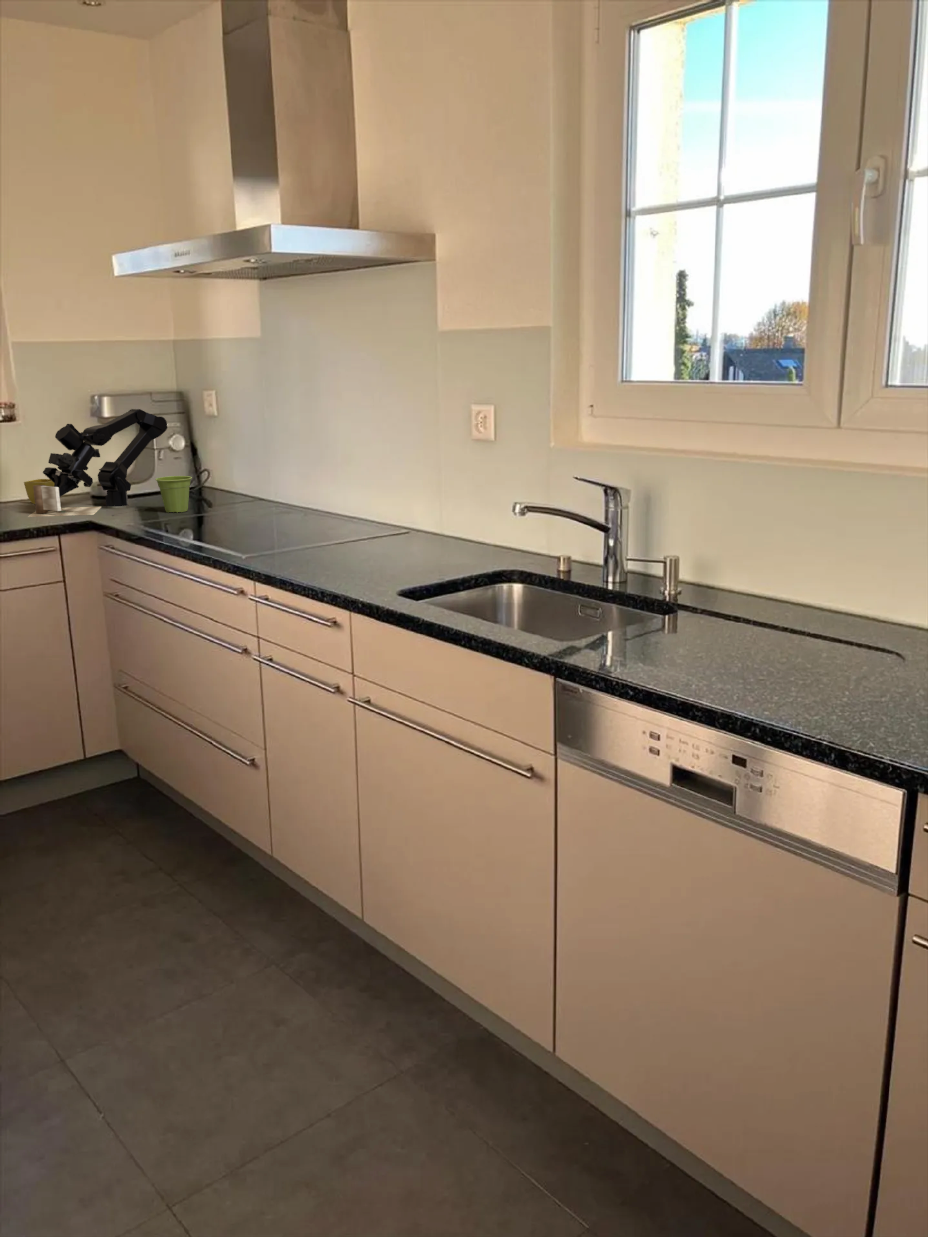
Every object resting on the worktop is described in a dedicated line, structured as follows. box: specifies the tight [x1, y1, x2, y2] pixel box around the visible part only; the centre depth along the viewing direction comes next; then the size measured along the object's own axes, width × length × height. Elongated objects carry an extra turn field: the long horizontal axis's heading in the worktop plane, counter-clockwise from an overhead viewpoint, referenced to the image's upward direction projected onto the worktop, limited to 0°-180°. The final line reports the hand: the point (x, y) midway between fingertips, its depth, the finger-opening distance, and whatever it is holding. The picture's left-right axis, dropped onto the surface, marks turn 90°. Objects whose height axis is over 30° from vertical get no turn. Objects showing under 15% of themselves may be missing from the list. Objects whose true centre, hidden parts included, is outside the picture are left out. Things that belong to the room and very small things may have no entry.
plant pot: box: [155, 475, 193, 513], centre depth 339 cm, size 12×12×11 cm
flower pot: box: [23, 478, 55, 505], centre depth 352 cm, size 9×9×9 cm
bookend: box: [33, 485, 62, 513], centre depth 329 cm, size 10×9×9 cm
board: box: [27, 506, 102, 518], centre depth 334 cm, size 20×18×1 cm
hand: (54, 497), depth 326 cm, fingers closed, pressing on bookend
